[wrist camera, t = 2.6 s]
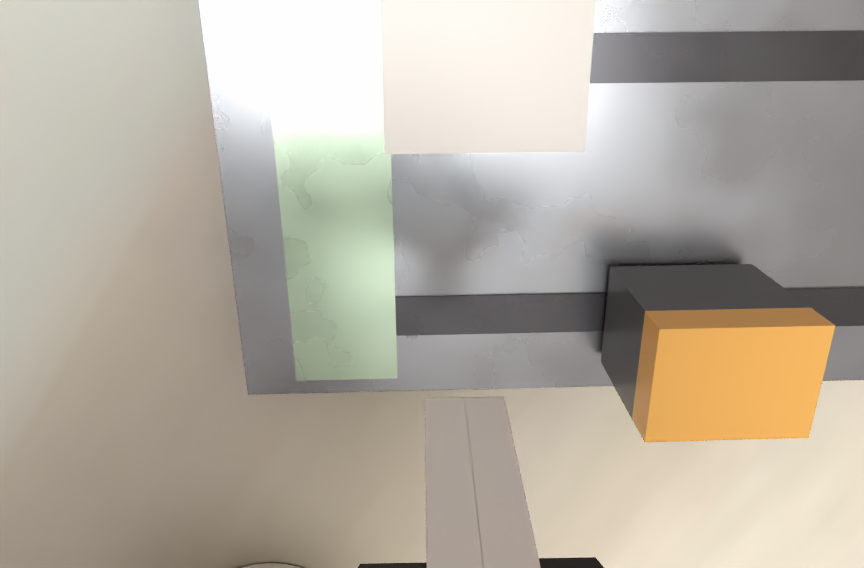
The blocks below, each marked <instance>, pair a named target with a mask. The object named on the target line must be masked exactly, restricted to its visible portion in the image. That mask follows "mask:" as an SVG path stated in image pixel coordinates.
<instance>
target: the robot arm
mask: <svg viewBox="0 0 864 568" xmlns="http://www.w3.org/2000/svg"><path fill="white" fill-rule="evenodd" d="M425 470H426V558H427V563H382V564H360V565H359V567H358V568H604V567H603V566H602V565H601V564H600V563H599V561H598V560H597V559H596V558H541V559H539V558H538V553H537V548H536V544H535V539H534V534H533V530H532V525H531V521H530V516H529V511H528V507H527V502H526V497H525V493H524V488H523V483H522V479H521V474H520V469H519V465H518V460H517V455H516V451H515V446H514V442H513V437H512V432H511V428H510V423H509V418H508V414H507V409H506V404H505V400H504V397H461V398H425Z"/></svg>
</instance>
